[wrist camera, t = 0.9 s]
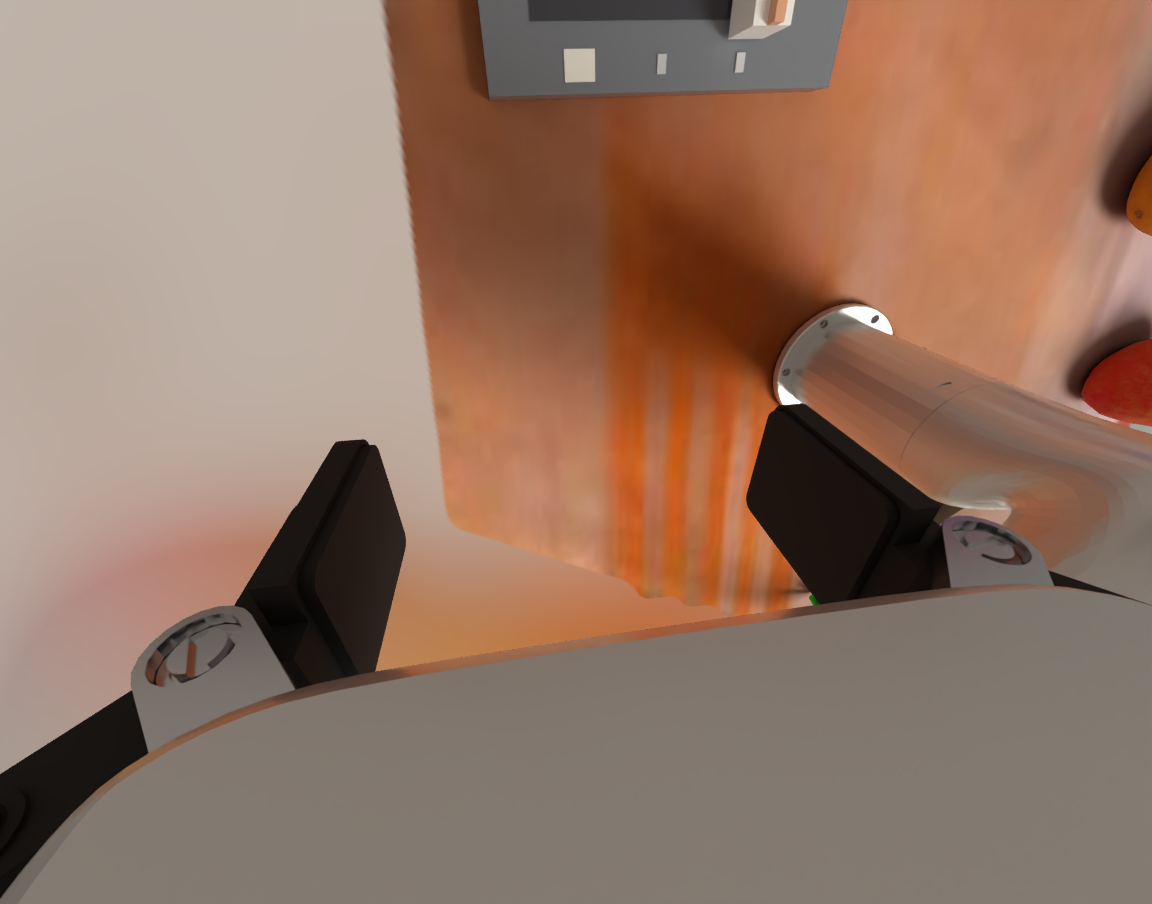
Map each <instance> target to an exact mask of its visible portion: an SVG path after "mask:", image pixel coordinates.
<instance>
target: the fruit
mask: <svg viewBox="0 0 1152 904" xmlns="http://www.w3.org/2000/svg"><path fill="white" fill-rule="evenodd" d="M1126 210H1127V217H1128V219H1129V221H1130V222H1131V223H1132V224H1133V225H1134V227H1136V228H1137V229H1138V230H1140V231H1142V232H1143V233H1146V234H1148V235H1151V236H1152V155H1151V156H1150V158H1149V159H1148V161H1147V162H1146V163H1145V165H1144V166H1143V168H1142V169H1141V171H1140V172H1139V174H1138V175H1137V177H1136V179H1135V182H1134V184H1133V186H1132V189H1131V191H1130V194H1129V198H1128V201H1127V207H1126Z"/></svg>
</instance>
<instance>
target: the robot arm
mask: <svg viewBox="0 0 1152 904" xmlns="http://www.w3.org/2000/svg"><path fill="white" fill-rule="evenodd" d="M773 388H774V393H775V396H776V399H777V401H778V402H779V404H780V405H779V406H778V407H777V408H776V409H775V410H774V411H773V412H771V413H770V414H769V416H768V419H767V423H766V426H765V430H764V434H763V437H762V441H761V444H760V448H759V452H758V455H757V459H756V463H755V466H754V470H753V474H752V477H751V481H750V485H749V488H748V492H747V497H746V501H747V506H748V508H749V510H750V511H751V513H752V514H753V515H754V517H755V518H756V519H757V521H758V522H759V523H760V525H761V526H762V527H763V529H764V530H765V531H766V533H767V534H768V535H769V537H770V538H771V539H772V541H773V542H774V544H775V545H776V546H777V548H778V549H779V550H780V552H781V553H782V554H783V556H784V557H785V558H786V560H787V561H788V562H789V564H790V565H791V566H792V568H793V569H794V570H795V572H796V573H797V574H798V576H799V577H800V578H801V580H802V581H803V583H804V584H805V585H806V587H807V588H808V589H809V591H810V592H811V593H812V595H813V596H814V597H815V599H816V600H817V601H818V603H819V604H820V605H813V606H806V607H799V608H792V609H785V610H777V611H770V612H763V613H756V614H749V615H742V616H735V617H728V618H722V619H715V620H708V621H701V622H695V623H687V624H680V625H673V626H666V627H660V628H653V629H646V630H639V631H633V632H625V633H619V634H612V635H605V636H599V637H592V638H585V639H579V640H572V641H565V642H559V643H552V644H545V645H539V646H532V647H526V648H519V649H512V650H506V651H499V652H493V653H486V654H479V655H473V656H466V657H460V658H454V659H448V660H442V661H436V662H430V663H425V664H418V665H412V666H407V667H400V668H394V669H388V670H382V671H376V672H375V670H376V665H377V662H378V657H379V653H380V649H381V645H382V641H383V637H384V633H385V629H386V625H387V621H388V616H389V612H390V609H391V604H392V600H393V596H394V592H395V588H396V584H397V580H398V576H399V572H400V568H401V564H402V560H403V556H404V552H405V547H406V538H405V532H404V529H403V526H402V523H401V520H400V516H399V513H398V510H397V507H396V504H395V501H394V497H393V494H392V491H391V488H390V484H389V481H388V478H387V475H386V472H385V469H384V466H383V463H382V459H381V456H380V453H379V450H378V448H377V447H376V446H375V445H369V444H368V442H367V441H366V440H364V439H363V440H350V441H339V442H336V443H335V444H334V445H333V447H332V448H331V450H330V452H329V453H328V455H327V457H326V458H325V460H324V462H323V463H322V465H321V467H320V468H319V470H318V472H317V473H316V475H315V477H314V478H313V480H312V482H311V483H310V485H309V487H308V488H307V490H306V492H305V493H304V495H303V497H302V498H301V500H300V502H299V503H298V505H297V506H296V507H295V508H294V509H293V510H292V511H291V513H290V515H289V516H288V518H287V520H286V521H285V523H284V525H283V526H282V528H281V529H280V531H279V533H278V535H277V536H276V538H275V539H274V541H273V543H272V544H271V546H270V548H269V549H268V551H267V552H266V554H265V556H264V557H263V559H262V561H261V562H260V564H259V566H258V567H257V569H256V571H255V572H254V574H253V576H252V577H251V579H250V581H249V582H248V584H247V585H246V587H245V589H244V590H243V592H242V594H241V595H240V597H239V599H238V600H237V602H236V603H235V605H234V606H219V607H215V608H211V609H208V610H204V611H201V612H198V613H196V614H194V615H192V616H190V617H187V618H185V619H183V620H182V621H180V622H179V623H177V624H175V625H174V626H172V627H170V628H169V629H167V630H166V631H165V632H163V633H162V634H161V635H160V636H159V637H158V638H156V639H155V640H154V641H153V642H152V643H151V644H150V645H149V646H148V647H147V648H146V649H145V651H144V652H143V653H142V654H141V656H140V657H139V658H138V660H137V662H136V664H135V666H134V668H133V670H132V672H131V688H132V690H131V691H130V692H128V693H127V694H125V695H124V696H122V697H120V698H119V699H117V700H116V701H114V702H113V703H111V704H110V705H108V706H106V707H105V708H103V709H102V710H100V711H99V712H97V713H95V714H94V715H92V716H91V717H89V718H88V719H86V720H84V721H83V722H81V723H80V724H78V725H77V726H75V727H73V728H72V729H70V730H69V731H68V732H66V733H64V734H62V735H61V736H59V737H58V738H56V739H55V740H53V741H51V742H50V743H48V744H47V745H45V746H44V747H42V748H41V749H39V750H38V751H36V752H34V753H33V754H31V755H30V756H28V757H26V758H25V759H23V760H22V761H20V762H19V763H17V764H16V765H14V766H12V767H11V768H9V769H8V770H6V771H4V772H3V773H1V774H0V904H1152V434H1149V433H1145V432H1142V431H1139V430H1135V429H1132V428H1129V427H1126V426H1123V425H1120V424H1116V423H1113V422H1110V421H1107V420H1104V419H1100V418H1097V417H1094V416H1091V415H1089V414H1086V413H1083V412H1081V411H1078V410H1075V409H1073V408H1070V407H1067V406H1065V405H1062V404H1059V403H1057V402H1054V401H1051V400H1049V399H1046V398H1043V397H1041V396H1039V395H1036V394H1034V393H1031V392H1029V391H1026V390H1024V389H1021V388H1019V387H1016V386H1014V385H1012V384H1009V383H1006V382H1004V381H1002V380H999V379H997V378H994V377H992V376H990V375H987V374H985V373H982V372H980V371H978V370H975V369H973V368H970V367H968V366H965V365H963V364H961V363H958V362H956V361H953V360H951V359H949V358H946V357H944V356H941V355H939V354H936V353H934V352H932V351H929V350H927V349H926V348H923V347H920V346H917V345H915V344H912V343H910V342H907V341H905V340H903V339H900V338H898V337H895V336H893V333H892V327H891V325H890V323H889V321H888V319H887V318H886V317H885V316H884V314H883V313H881V312H880V311H878V310H877V309H875V308H872V307H870V306H867V305H864V304H856V303H850V304H842V305H838V306H835V307H831V308H829V309H827V310H825V311H823V312H821V313H819V314H817V315H816V316H814V317H813V318H811V319H810V320H808V321H807V322H806V323H805V324H804V325H803V326H802V327H800V328H799V329H798V330H797V331H796V332H795V334H794V335H793V336H792V337H791V338H790V339H789V341H788V342H787V344H786V345H785V347H784V348H783V350H782V352H781V354H780V356H779V358H778V360H777V363H776V367H775V370H774V376H773ZM932 499H933V500H935V501H937V502H940V503H943V504H947V505H950V506H956V507H961V508H971V509H992V510H1011V514H1010V515H1009V517H1008V519H1007V520H1006V521H1005V522H1004V523H1003V524H1002V525H1000V524H998V523H995V522H992V521H989V520H986V519H983V518H978V517H973V516H961V515H958V516H953V517H949V518H947V519H946V520H945V521H943V523H942V525H941V526H940V525H939V524H938V523H937V522H935V521H934V520H933V519H934V518H935V516H936V514H937V513H938V511H939V509H940V508H941V506H940V505H939V504H937V503H936V502H935V501H933V500H932Z"/></svg>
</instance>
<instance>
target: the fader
mask: <svg viewBox="0 0 1152 904" xmlns="http://www.w3.org/2000/svg"><path fill="white" fill-rule="evenodd" d="M794 3H795V0H733V2H732V10H731V19H730V28H729V36H728V39H763V38H765V37H767V36H769V35H772V34H774V33H776V32H778V31H780V30H782V29H784V28H786V27H788V26H790V25H791V21H792V15H793V9H794Z"/></svg>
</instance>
